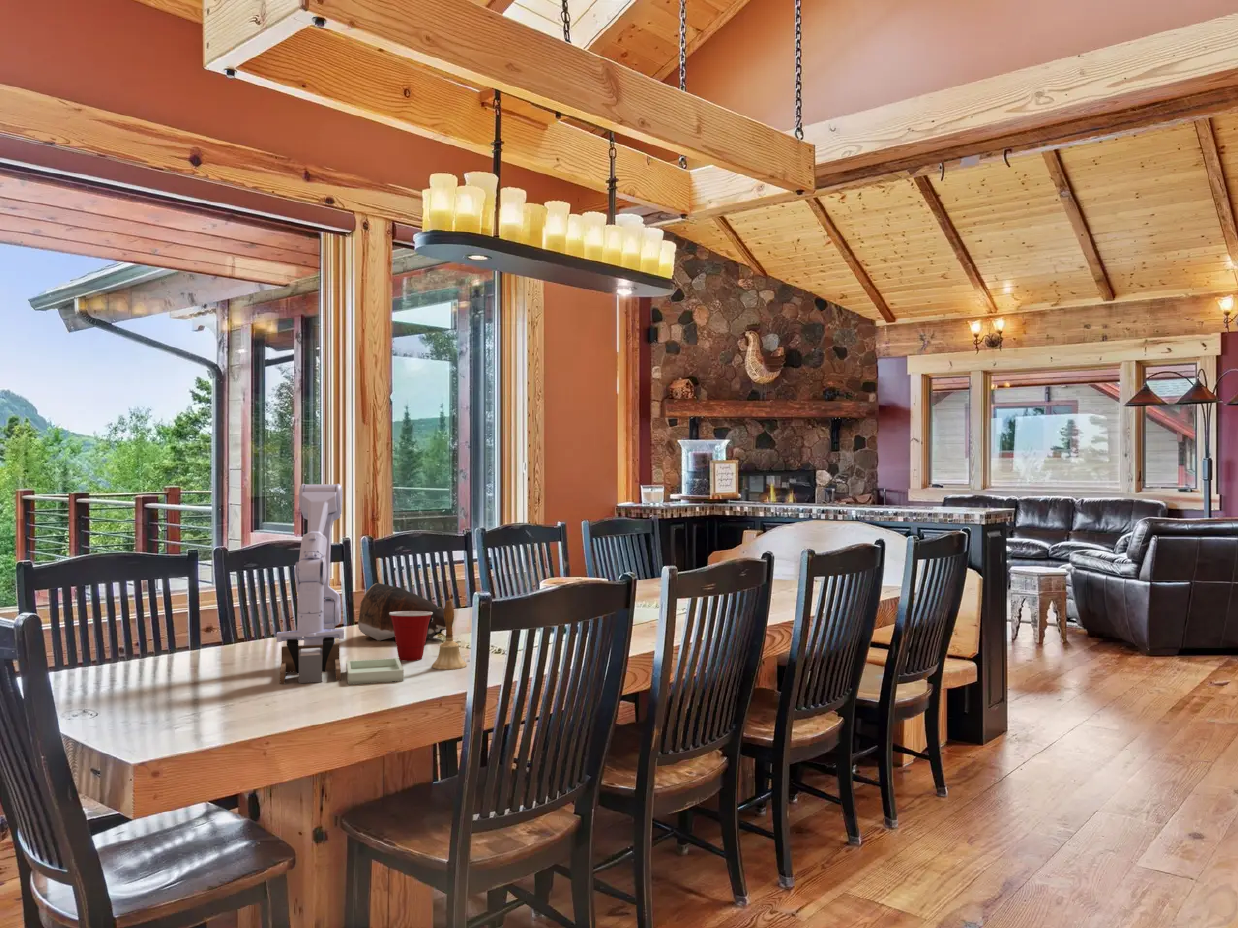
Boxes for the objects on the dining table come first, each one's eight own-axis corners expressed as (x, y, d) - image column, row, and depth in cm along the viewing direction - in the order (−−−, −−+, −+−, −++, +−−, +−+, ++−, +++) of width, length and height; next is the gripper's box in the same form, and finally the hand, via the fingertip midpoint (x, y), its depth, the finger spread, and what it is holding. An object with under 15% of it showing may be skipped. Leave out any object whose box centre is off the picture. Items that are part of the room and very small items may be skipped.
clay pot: (445, 601, 257) (364, 581, 263) (432, 657, 256) (351, 635, 262) (467, 601, 271) (389, 581, 277) (454, 654, 270) (376, 633, 276)
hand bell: (459, 670, 225) (459, 603, 225) (426, 669, 227) (426, 602, 227) (471, 663, 234) (471, 598, 234) (439, 662, 235) (440, 597, 235)
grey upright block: (299, 675, 219) (299, 648, 219) (321, 674, 221) (321, 647, 221) (298, 683, 212) (298, 655, 212) (322, 681, 213) (322, 653, 213)
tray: (346, 671, 224) (346, 660, 224) (398, 668, 228) (398, 657, 228) (348, 684, 211) (348, 673, 211) (403, 680, 214) (403, 669, 214)
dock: (281, 671, 223) (281, 646, 223) (339, 668, 227) (339, 643, 227) (279, 684, 211) (279, 657, 211) (340, 680, 215) (340, 653, 215)
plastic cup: (438, 654, 244) (438, 608, 244) (425, 663, 233) (425, 614, 233) (397, 653, 245) (397, 607, 245) (382, 662, 234) (382, 613, 235)
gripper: (276, 615, 210) (275, 677, 210) (344, 612, 215) (344, 673, 214) (277, 611, 217) (277, 670, 217) (343, 608, 221) (343, 666, 221)
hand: (310, 671), depth 216 cm, fingers closed on grey upright block, 5 cm apart
